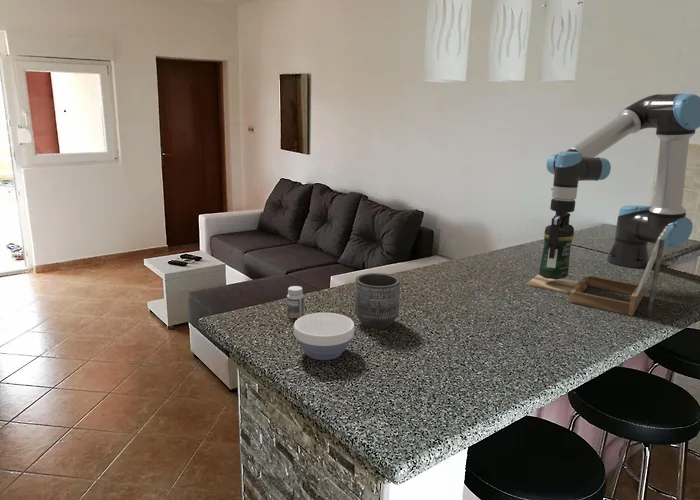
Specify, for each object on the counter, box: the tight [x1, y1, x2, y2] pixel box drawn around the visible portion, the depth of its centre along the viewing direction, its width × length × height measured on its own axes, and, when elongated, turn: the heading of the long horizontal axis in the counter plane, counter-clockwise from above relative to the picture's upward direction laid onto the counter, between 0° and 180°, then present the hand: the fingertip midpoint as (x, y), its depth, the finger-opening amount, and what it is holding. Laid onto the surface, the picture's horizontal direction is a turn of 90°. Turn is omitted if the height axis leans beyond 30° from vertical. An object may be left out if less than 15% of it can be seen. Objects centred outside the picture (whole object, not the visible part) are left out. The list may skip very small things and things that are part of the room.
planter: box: [354, 272, 401, 330], centre depth 141 cm, size 12×12×13 cm
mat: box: [525, 273, 580, 295], centre depth 179 cm, size 14×14×1 cm
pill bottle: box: [286, 285, 305, 319], centre depth 146 cm, size 5×5×8 cm
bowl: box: [293, 312, 356, 361], centre depth 124 cm, size 14×14×8 cm
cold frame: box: [568, 226, 668, 317], centre depth 161 cm, size 22×22×24 cm
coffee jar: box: [538, 223, 575, 280], centre depth 176 cm, size 10×8×19 cm
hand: (555, 264), depth 177 cm, fingers closed on coffee jar, 9 cm apart
